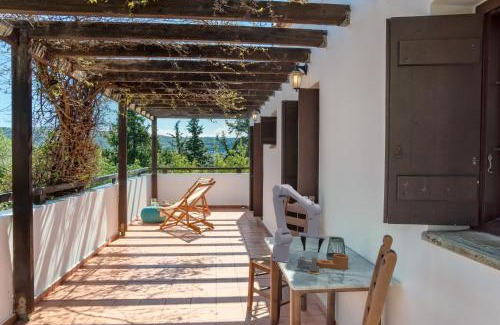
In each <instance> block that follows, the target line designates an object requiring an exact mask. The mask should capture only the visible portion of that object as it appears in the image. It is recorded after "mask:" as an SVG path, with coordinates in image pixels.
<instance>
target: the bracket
mask: <svg viewBox="0 0 500 325" xmlns="http://www.w3.org/2000/svg"><path fill="white" fill-rule="evenodd" d="M317 266H319V267H321V268H320V269H327V268H329V270H342V271H343V270H348V268H349V255H347V254H344V253H333V255H332V260H331V259H318V262H317Z"/></svg>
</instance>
